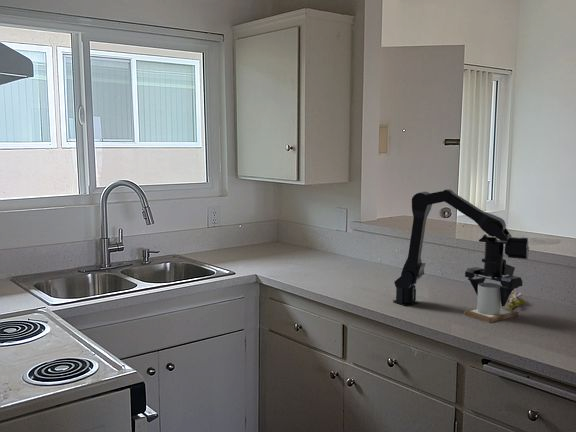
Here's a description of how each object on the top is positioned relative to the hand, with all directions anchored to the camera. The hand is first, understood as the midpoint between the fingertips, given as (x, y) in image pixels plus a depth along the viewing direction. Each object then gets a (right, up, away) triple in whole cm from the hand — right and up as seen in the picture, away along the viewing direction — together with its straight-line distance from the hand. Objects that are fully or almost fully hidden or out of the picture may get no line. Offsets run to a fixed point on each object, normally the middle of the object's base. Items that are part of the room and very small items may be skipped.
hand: (491, 302), depth 188 cm
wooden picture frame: (0, -4, +1) cm, 4 cm away
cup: (0, -3, +1) cm, 3 cm away
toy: (+13, -3, +14) cm, 19 cm away
